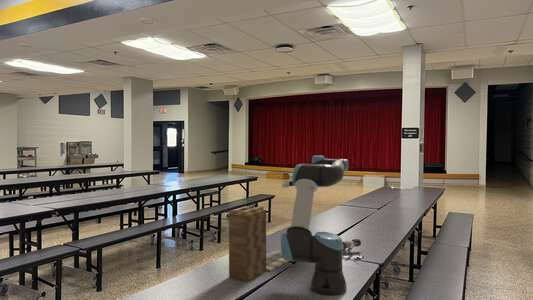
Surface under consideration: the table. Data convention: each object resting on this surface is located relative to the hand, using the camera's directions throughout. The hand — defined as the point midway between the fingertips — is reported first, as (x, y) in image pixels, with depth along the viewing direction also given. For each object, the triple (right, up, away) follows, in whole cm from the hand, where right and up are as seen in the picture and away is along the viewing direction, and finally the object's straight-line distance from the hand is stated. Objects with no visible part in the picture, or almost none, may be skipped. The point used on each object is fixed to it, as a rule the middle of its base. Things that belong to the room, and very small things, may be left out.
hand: (293, 186), depth 202 cm
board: (-11, -38, -10) cm, 41 cm away
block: (-9, -37, -8) cm, 39 cm away
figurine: (+25, -38, +4) cm, 46 cm away
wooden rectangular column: (-24, -39, -28) cm, 54 cm away
